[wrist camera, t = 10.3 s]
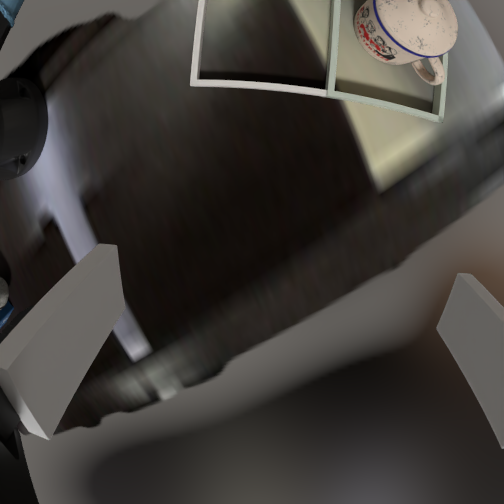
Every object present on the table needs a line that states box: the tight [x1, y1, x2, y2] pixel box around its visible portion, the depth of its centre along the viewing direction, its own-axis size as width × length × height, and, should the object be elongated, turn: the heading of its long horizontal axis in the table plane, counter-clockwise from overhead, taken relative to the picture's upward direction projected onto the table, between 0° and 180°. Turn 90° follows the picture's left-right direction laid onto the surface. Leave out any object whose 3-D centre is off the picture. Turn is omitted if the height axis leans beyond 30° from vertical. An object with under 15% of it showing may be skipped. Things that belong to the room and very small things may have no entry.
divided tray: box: [190, 0, 448, 123], centre depth 27 cm, size 29×17×2 cm, turn 85°
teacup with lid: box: [354, 0, 458, 85], centre depth 23 cm, size 12×9×12 cm
